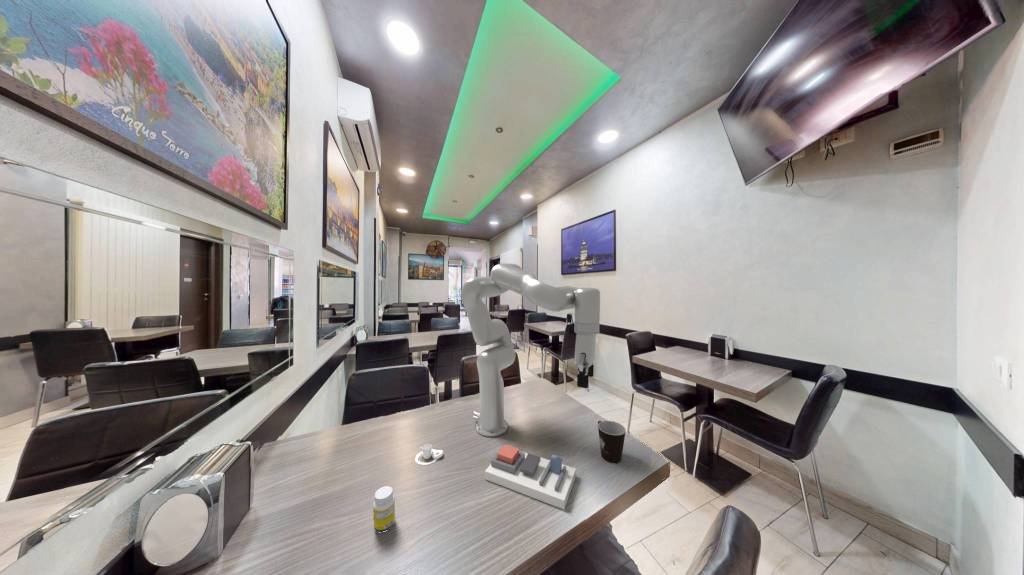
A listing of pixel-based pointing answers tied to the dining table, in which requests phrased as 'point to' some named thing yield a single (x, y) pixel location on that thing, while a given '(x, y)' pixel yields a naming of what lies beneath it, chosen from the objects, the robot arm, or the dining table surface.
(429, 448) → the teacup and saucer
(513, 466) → the panel
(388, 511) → the supplement bottle
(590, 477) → the dining table surface
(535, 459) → the block
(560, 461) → the paddle
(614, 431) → the coffee mug
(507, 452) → the button
